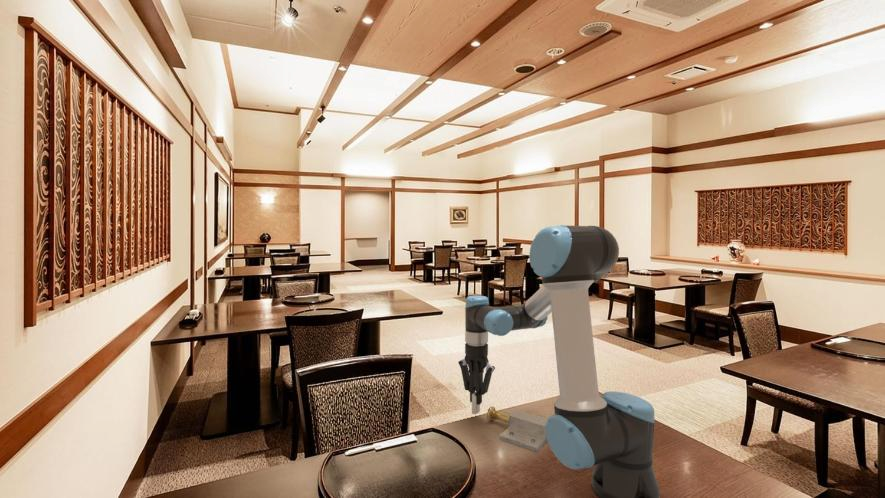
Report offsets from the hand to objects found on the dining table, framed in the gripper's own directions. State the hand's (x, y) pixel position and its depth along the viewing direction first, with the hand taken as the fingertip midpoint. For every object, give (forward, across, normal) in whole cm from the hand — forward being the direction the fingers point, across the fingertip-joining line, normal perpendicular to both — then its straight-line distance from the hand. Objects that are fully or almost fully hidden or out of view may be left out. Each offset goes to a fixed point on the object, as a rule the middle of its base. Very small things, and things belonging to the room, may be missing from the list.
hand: (475, 412), depth 141 cm
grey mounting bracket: (+1, -19, 0) cm, 19 cm away
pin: (+1, -12, 0) cm, 12 cm away
